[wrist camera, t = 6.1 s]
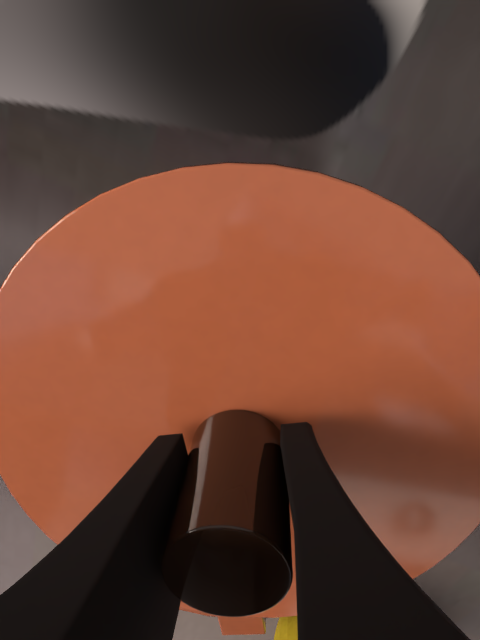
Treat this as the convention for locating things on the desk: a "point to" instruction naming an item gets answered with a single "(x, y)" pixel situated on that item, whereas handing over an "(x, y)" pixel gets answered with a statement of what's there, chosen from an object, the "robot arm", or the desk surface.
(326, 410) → the pot lid
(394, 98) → the desk surface
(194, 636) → the desk surface
